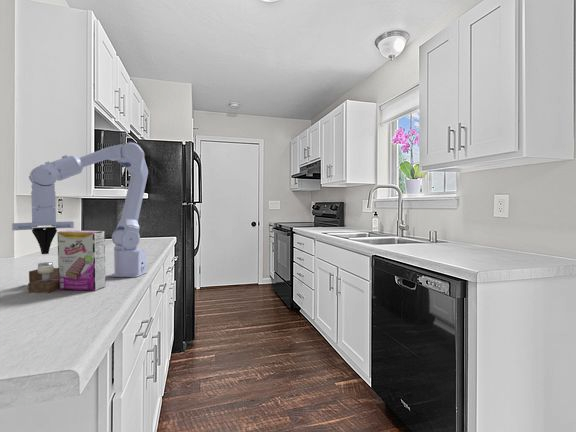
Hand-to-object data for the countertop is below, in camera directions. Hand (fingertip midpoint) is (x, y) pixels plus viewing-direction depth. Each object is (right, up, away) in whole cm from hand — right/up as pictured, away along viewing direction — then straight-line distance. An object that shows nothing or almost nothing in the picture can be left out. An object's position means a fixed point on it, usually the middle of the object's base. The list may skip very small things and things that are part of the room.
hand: (45, 253), depth 100 cm
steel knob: (-1, -9, +2) cm, 10 cm away
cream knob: (+4, -8, -5) cm, 10 cm away
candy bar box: (+13, -10, -3) cm, 16 cm away
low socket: (+4, -10, -5) cm, 11 cm away
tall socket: (-1, -9, +2) cm, 10 cm away
